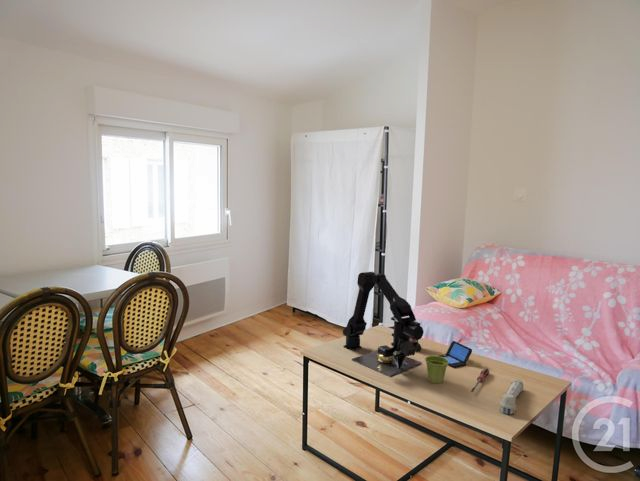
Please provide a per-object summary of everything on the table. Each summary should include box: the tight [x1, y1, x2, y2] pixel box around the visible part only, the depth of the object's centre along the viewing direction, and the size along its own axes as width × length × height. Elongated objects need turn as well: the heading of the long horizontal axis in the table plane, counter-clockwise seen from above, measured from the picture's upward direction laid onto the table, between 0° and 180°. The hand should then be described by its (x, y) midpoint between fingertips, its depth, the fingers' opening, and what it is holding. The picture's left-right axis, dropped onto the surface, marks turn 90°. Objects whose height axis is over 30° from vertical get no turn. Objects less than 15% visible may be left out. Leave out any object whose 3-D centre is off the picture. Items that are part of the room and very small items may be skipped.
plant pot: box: [424, 355, 449, 384], centre depth 179 cm, size 9×9×9 cm
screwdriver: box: [470, 368, 490, 393], centre depth 178 cm, size 25×3×3 cm, turn 147°
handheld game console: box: [439, 340, 473, 369], centre depth 200 cm, size 12×11×7 cm
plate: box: [351, 349, 423, 377], centre depth 198 cm, size 22×22×1 cm
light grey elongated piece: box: [499, 379, 524, 415], centre depth 164 cm, size 5×7×25 cm
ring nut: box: [378, 353, 410, 371], centre depth 194 cm, size 17×8×4 cm, turn 35°
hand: (398, 368), depth 187 cm, fingers closed
